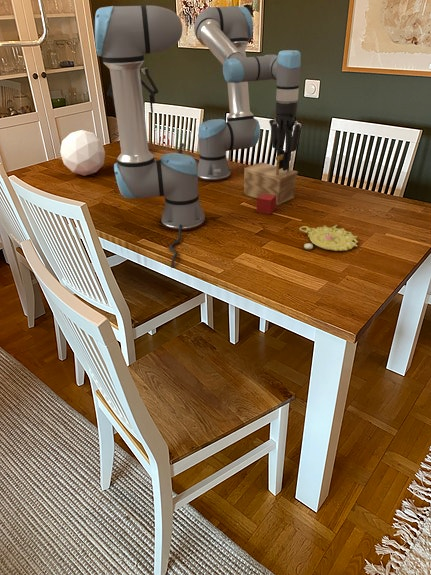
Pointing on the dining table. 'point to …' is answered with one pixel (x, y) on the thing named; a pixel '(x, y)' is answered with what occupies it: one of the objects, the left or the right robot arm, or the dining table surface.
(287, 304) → the dining table surface
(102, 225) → the dining table surface
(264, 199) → the block
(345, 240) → the decorative object
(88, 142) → the sphere
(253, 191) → the chest
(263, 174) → the lid
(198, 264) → the dining table surface
